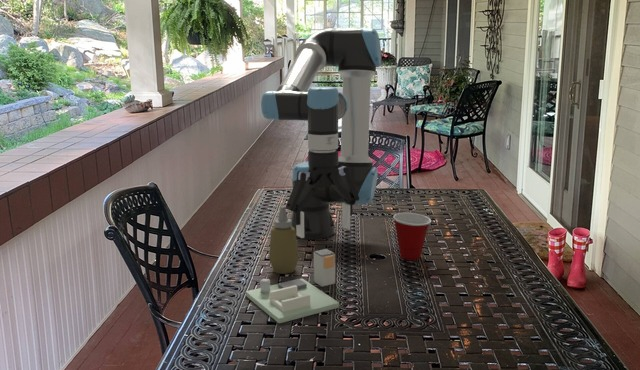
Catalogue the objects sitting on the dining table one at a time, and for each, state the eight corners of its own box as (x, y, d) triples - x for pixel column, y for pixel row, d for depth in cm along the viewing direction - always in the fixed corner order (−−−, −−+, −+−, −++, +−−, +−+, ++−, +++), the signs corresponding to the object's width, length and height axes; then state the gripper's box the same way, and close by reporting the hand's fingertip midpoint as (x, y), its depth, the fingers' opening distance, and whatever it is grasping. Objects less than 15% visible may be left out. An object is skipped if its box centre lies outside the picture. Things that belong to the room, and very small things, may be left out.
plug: (313, 281, 168) (313, 251, 166) (327, 278, 170) (326, 248, 168) (323, 287, 164) (323, 256, 162) (336, 284, 166) (336, 253, 164)
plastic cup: (429, 264, 179) (430, 223, 176) (390, 262, 181) (391, 221, 178) (430, 251, 189) (432, 212, 186) (394, 249, 191) (394, 210, 188)
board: (245, 295, 159) (245, 280, 158) (302, 282, 167) (301, 267, 166) (278, 323, 144) (278, 306, 143) (339, 307, 152) (339, 290, 151)
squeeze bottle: (303, 267, 178) (302, 204, 173) (292, 277, 170) (291, 212, 166) (276, 263, 180) (274, 202, 176) (264, 274, 173) (262, 210, 169)
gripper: (285, 157, 149) (287, 244, 154) (373, 147, 162) (372, 228, 166) (271, 152, 156) (273, 236, 160) (356, 143, 168) (356, 221, 173)
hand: (323, 232), depth 163 cm, fingers open, 13 cm apart
